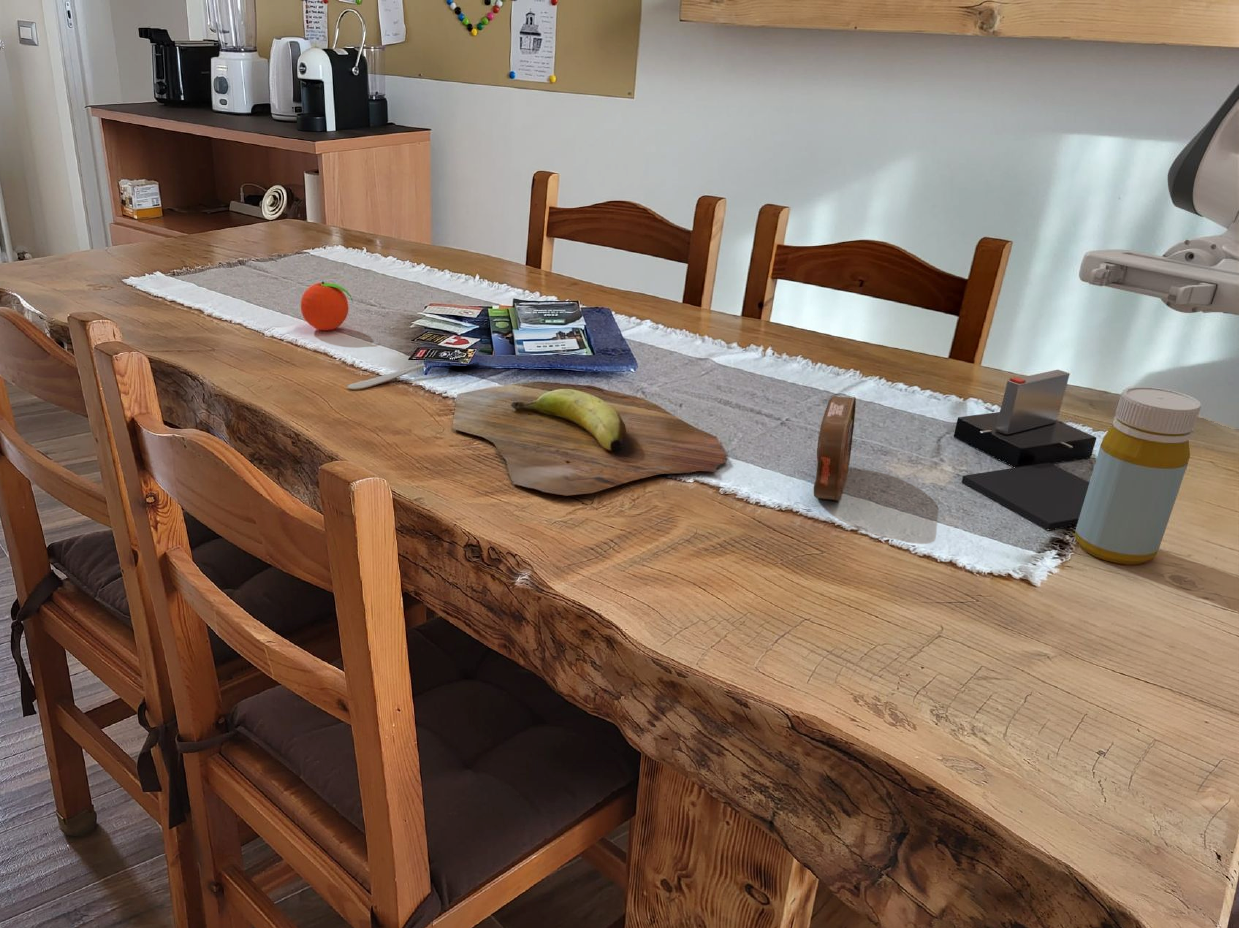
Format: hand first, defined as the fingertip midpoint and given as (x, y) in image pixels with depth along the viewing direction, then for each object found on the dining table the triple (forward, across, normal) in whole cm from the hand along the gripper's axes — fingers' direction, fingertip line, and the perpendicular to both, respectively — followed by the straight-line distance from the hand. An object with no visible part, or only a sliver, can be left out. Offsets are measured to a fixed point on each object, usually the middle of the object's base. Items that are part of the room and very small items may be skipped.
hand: (1133, 286), depth 119 cm
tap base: (+14, 0, +17) cm, 22 cm away
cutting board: (+58, -28, +17) cm, 67 cm away
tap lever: (+14, 0, +15) cm, 20 cm away
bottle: (+29, +20, +18) cm, 40 cm away
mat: (+24, +10, +18) cm, 31 cm away
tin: (+42, -4, +18) cm, 46 cm away
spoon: (+65, -55, +17) cm, 86 cm away
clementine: (+67, -80, +16) cm, 105 cm away
